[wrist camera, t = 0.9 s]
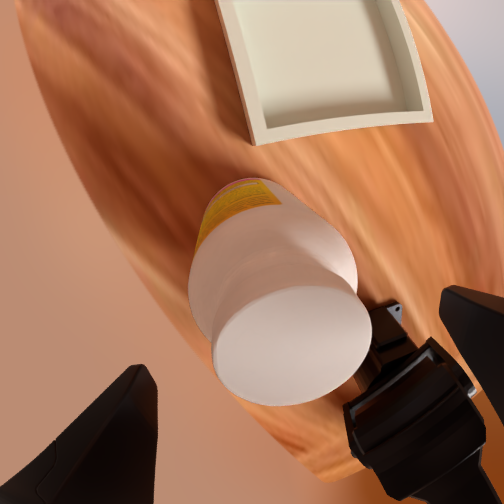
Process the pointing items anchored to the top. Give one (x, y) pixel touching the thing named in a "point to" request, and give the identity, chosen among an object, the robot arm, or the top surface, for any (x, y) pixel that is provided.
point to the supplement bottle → (276, 296)
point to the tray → (323, 66)
